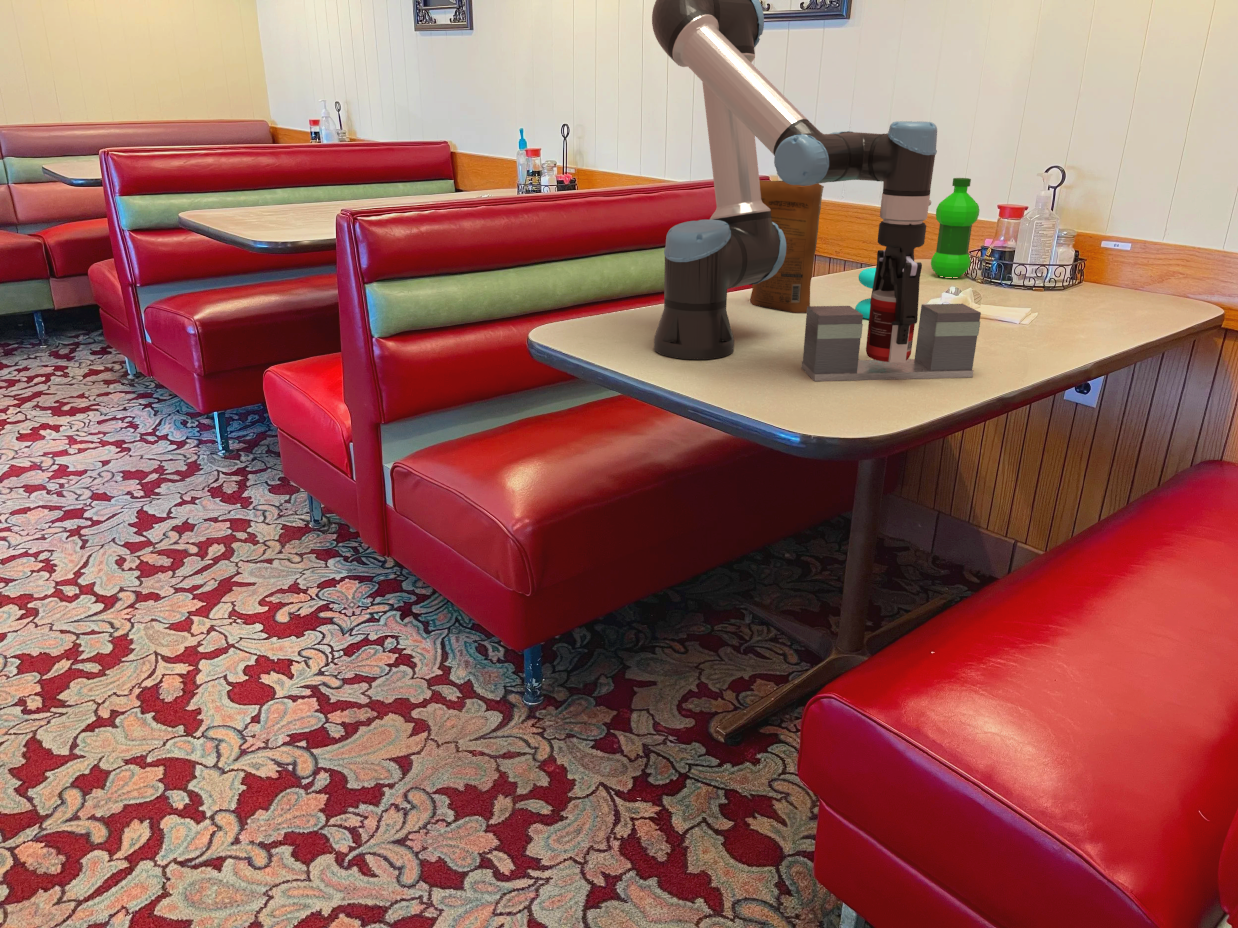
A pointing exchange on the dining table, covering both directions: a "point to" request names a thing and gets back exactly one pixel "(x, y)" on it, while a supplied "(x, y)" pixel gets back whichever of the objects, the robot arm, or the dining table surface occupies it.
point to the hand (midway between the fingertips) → (887, 354)
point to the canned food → (883, 326)
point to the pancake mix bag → (791, 245)
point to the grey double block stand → (938, 355)
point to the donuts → (867, 280)
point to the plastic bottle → (955, 231)
